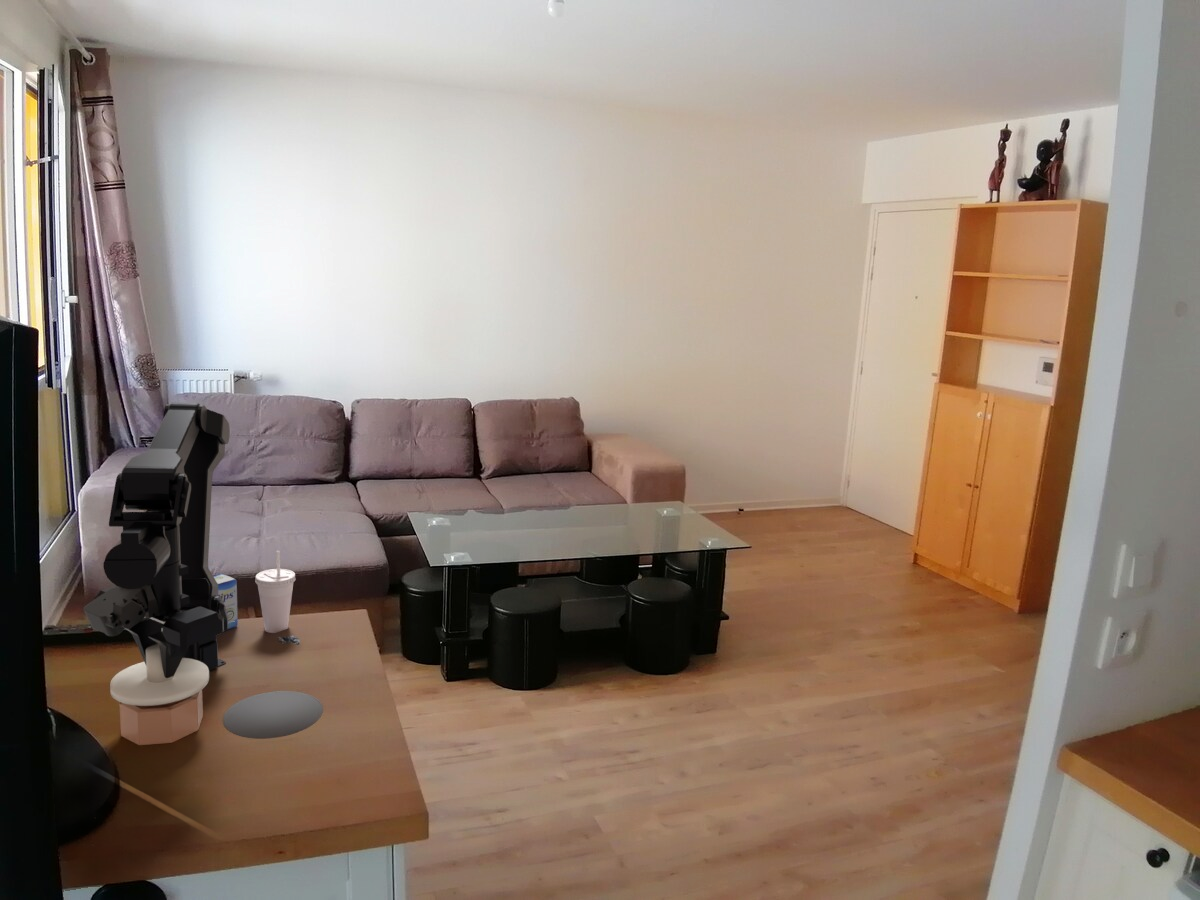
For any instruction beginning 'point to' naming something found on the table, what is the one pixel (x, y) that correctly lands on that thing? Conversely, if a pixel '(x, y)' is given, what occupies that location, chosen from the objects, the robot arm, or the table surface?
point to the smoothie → (275, 596)
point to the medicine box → (228, 597)
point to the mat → (272, 714)
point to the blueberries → (289, 639)
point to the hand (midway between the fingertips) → (160, 673)
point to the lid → (158, 681)
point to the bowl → (161, 720)
